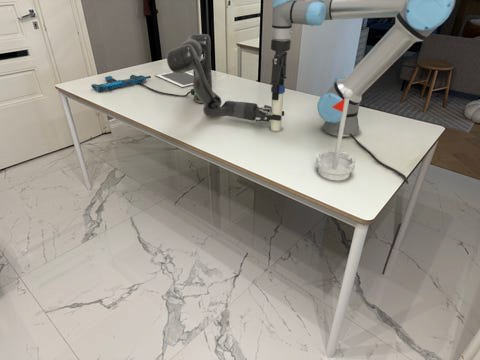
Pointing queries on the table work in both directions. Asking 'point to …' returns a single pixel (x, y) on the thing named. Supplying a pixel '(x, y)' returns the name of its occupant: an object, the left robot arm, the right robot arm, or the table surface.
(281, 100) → the tube
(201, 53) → the left robot arm
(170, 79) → the tablet
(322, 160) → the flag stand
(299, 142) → the table surface
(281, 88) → the lid
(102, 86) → the submachine gun
